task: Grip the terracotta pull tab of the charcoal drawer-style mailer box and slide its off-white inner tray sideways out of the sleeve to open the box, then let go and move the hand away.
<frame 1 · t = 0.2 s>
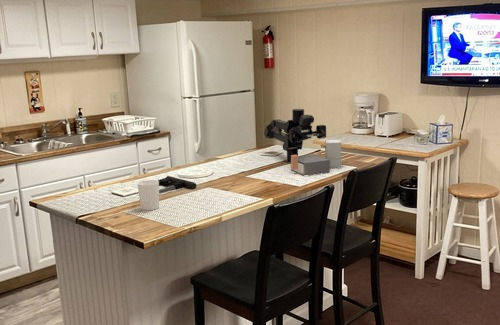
hand: (316, 136, 241), 17 cm above the countertop, tool horizontal, fingers open, 9 cm apart
tray: (306, 162, 244), point 5 cm above the countertop, slide at 0.0 cm
mailer sleeve: (310, 171, 246), on the countertop
supplement box: (333, 166, 254), on the countertop
black handgun: (170, 189, 225), on the countertop
white cup: (150, 208, 197), on the countertop
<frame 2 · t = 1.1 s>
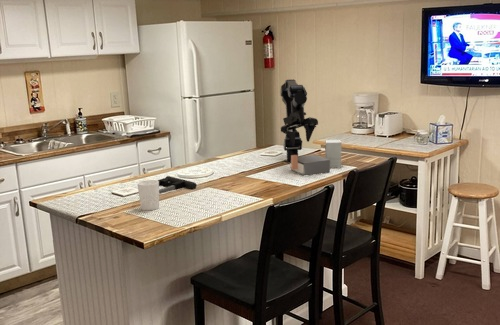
hand: (300, 143, 240), 14 cm above the countertop, tool tilted 25°, fingers open, 9 cm apart
nothing on the countertop moved.
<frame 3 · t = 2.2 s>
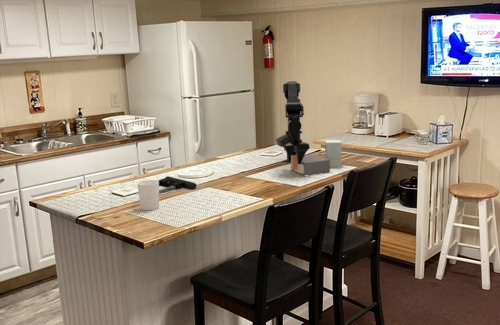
hand: (294, 162, 242), 5 cm above the countertop, tool pointing down, fingers open, 9 cm apart
nothing on the countertop moved.
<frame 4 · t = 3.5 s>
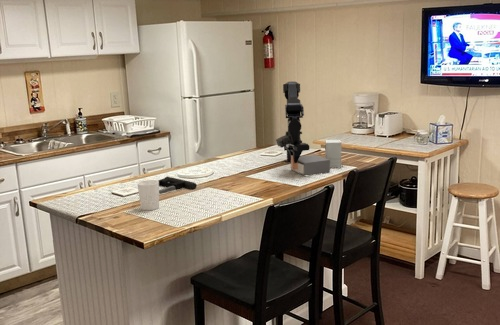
hand: (294, 162, 242), 5 cm above the countertop, tool pointing down, fingers closed on tray, 2 cm apart
tray: (306, 162, 244), point 5 cm above the countertop, slide at 0.0 cm, touching gripper
everything else where it was.
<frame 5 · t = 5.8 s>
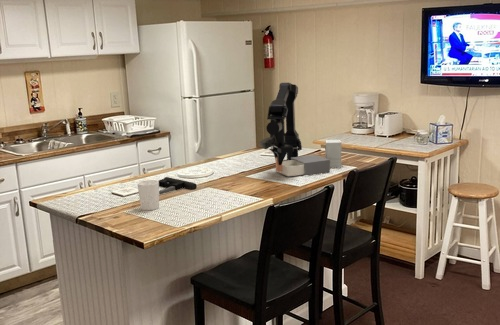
hand: (279, 164, 239), 5 cm above the countertop, tool pointing down, fingers closed on tray, 2 cm apart
tray: (291, 164, 241), point 5 cm above the countertop, slide at 8.0 cm, touching gripper
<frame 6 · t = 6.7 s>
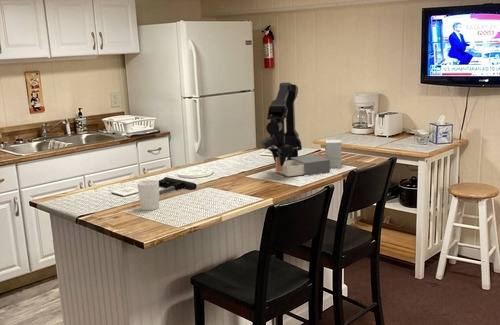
hand: (279, 164, 239), 5 cm above the countertop, tool pointing down, fingers open, 5 cm apart
tray: (291, 164, 241), point 5 cm above the countertop, slide at 8.0 cm
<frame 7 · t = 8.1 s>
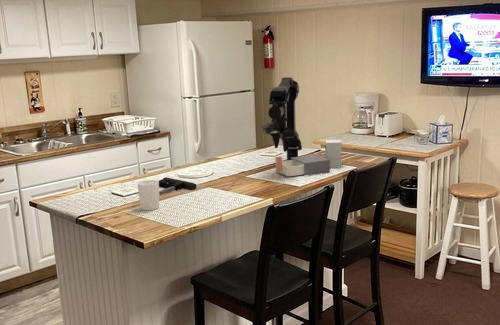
hand: (280, 149, 239), 12 cm above the countertop, tool pointing down, fingers open, 9 cm apart
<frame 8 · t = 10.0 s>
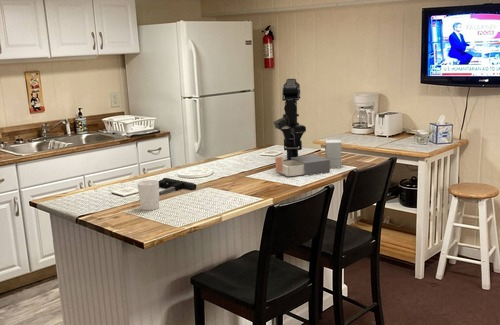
hand: (291, 144, 248), 12 cm above the countertop, tool pointing down, fingers open, 9 cm apart
at the end: tray slide at 8.0 cm; the gripper is holding nothing; supplement box moved 0.2 cm from its start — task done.
